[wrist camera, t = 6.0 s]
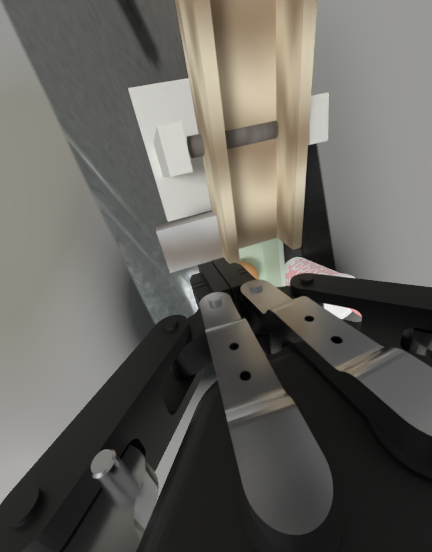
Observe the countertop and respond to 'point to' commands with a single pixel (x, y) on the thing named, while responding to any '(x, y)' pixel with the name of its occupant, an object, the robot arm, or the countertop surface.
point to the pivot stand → (173, 143)
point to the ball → (250, 269)
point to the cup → (266, 260)
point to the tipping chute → (246, 124)
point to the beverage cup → (306, 266)
